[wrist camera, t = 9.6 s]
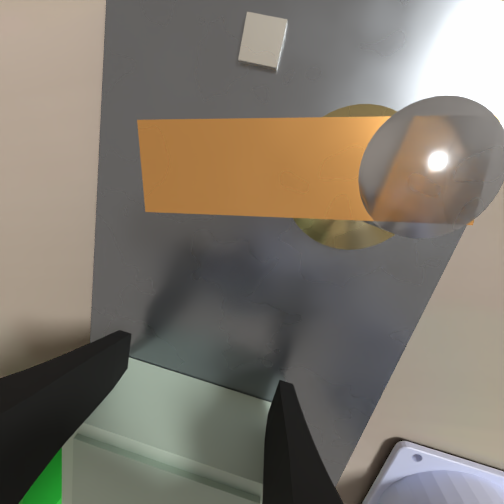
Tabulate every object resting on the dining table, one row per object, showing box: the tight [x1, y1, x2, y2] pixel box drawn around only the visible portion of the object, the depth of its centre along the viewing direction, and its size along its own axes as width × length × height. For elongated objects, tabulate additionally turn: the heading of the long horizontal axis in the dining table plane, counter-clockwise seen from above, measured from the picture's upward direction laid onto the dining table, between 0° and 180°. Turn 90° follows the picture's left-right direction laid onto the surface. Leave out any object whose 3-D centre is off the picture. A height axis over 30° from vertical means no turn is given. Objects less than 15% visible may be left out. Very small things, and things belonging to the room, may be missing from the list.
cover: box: [62, 358, 271, 504], centre depth 11 cm, size 9×7×4 cm
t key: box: [137, 95, 504, 239], centre depth 7 cm, size 2×7×5 cm, turn 89°
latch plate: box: [90, 0, 504, 487], centre depth 11 cm, size 15×22×1 cm
